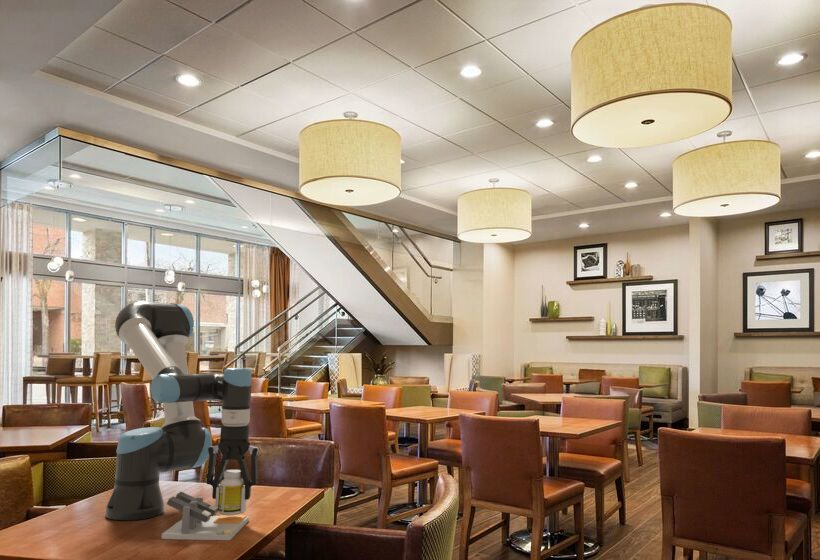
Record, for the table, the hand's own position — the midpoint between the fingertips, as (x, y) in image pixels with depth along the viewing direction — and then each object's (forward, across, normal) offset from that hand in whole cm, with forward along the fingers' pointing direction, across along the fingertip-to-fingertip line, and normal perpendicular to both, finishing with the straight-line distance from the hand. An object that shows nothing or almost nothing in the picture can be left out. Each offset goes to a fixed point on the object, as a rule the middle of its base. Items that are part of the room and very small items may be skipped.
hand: (230, 511), depth 165 cm
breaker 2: (-3, -8, -6) cm, 10 cm away
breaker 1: (-3, -8, -11) cm, 14 cm away
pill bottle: (+1, 0, 0) cm, 1 cm away
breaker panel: (+3, -4, -5) cm, 7 cm away
